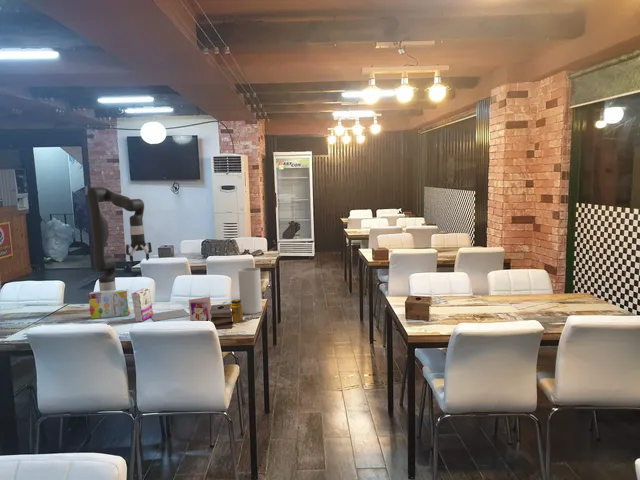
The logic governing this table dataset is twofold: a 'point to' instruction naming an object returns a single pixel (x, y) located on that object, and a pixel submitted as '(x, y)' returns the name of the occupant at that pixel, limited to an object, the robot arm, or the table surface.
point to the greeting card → (200, 309)
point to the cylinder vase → (250, 290)
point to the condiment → (237, 312)
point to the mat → (169, 315)
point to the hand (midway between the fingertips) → (139, 261)
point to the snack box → (109, 303)
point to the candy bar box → (142, 305)
